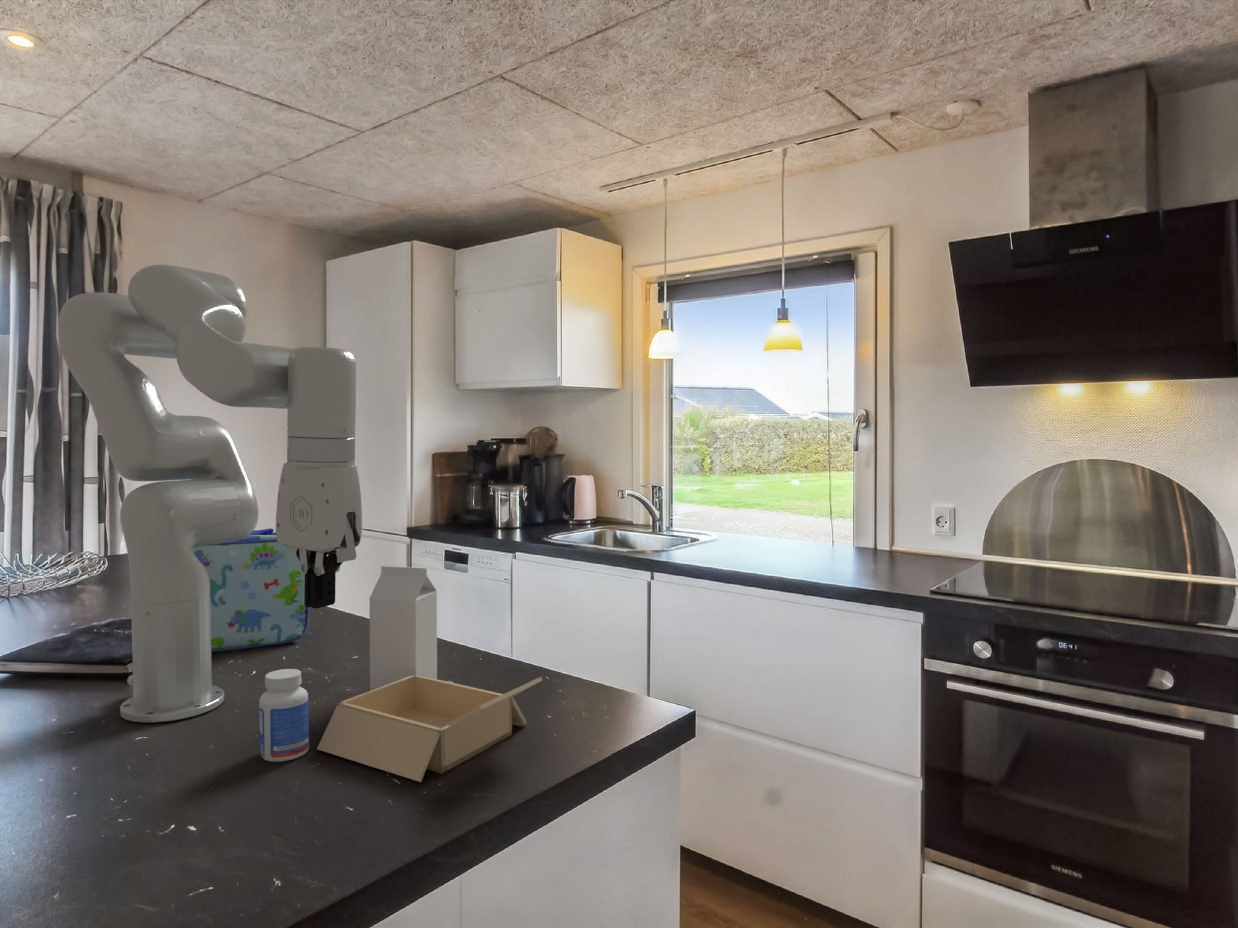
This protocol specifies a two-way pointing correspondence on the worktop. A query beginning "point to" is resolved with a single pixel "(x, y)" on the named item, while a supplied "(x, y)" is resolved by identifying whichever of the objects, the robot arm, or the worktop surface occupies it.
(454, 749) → the carton
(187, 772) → the worktop surface
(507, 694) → the flap
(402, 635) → the milk carton
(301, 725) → the pill bottle
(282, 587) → the lunch box
